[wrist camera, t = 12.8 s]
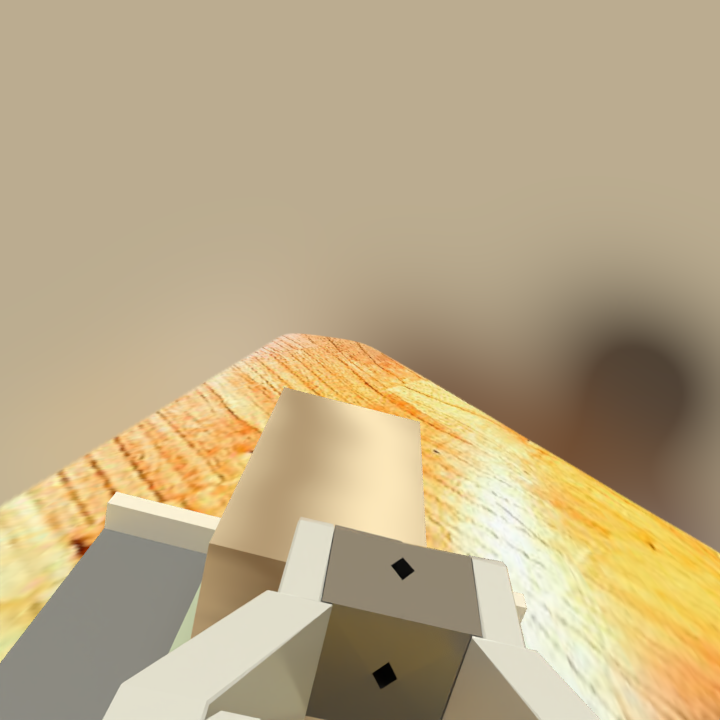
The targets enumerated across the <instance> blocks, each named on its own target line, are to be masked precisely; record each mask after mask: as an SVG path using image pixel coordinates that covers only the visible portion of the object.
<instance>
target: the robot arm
mask: <svg viewBox="0 0 720 720" xmlns="http://www.w3.org/2000/svg"><path fill="white" fill-rule="evenodd" d="M305 716H309V717H314V718H319V719H324V720H600V718H599V717H598V716H597V715H596V714H595V713H594V712H593V711H592V710H591V709H590V708H589V707H588V706H587V704H586V703H585V702H584V701H583V700H582V699H581V698H580V697H579V696H578V695H577V694H576V693H575V692H574V690H573V689H572V688H571V687H570V686H569V685H568V684H567V683H566V682H565V681H564V680H563V679H562V678H561V677H560V675H559V674H558V673H557V672H556V671H555V670H554V669H553V668H552V667H551V666H550V665H549V664H548V663H547V661H546V660H545V659H544V658H543V657H542V656H541V655H540V654H539V653H538V652H537V651H536V650H531V649H527V648H526V647H525V642H524V638H523V634H522V629H521V625H520V621H519V617H518V612H517V608H516V604H515V600H514V595H513V591H512V587H511V583H510V578H509V574H508V570H507V566H506V565H505V564H504V563H503V562H501V561H496V560H490V559H485V558H480V557H475V556H470V555H469V556H465V555H461V554H456V553H451V552H446V551H442V550H437V549H432V548H428V547H423V546H418V545H414V544H409V543H404V542H402V541H399V540H395V539H391V538H387V537H383V536H379V535H375V534H371V533H367V532H363V531H359V530H355V529H351V528H347V527H343V526H339V525H335V528H334V525H333V524H331V523H327V522H322V521H318V520H313V519H309V518H304V517H300V519H299V521H298V523H297V526H296V530H295V533H294V537H293V540H292V544H291V547H290V551H289V554H288V558H287V561H286V565H285V568H284V572H283V575H282V579H281V582H280V586H279V589H278V592H275V591H270V590H266V591H265V592H263V593H262V594H260V595H259V596H257V597H256V598H254V599H252V600H251V601H249V602H248V603H246V604H245V605H243V606H242V607H240V608H238V609H237V610H235V611H234V612H232V613H231V614H229V615H228V616H226V617H224V618H223V619H221V620H220V621H218V622H217V623H215V624H214V625H212V626H210V627H209V628H207V629H206V630H204V631H203V632H201V633H200V634H198V635H196V636H195V637H193V638H192V639H190V640H189V641H187V642H186V643H184V644H182V645H181V646H179V647H178V648H176V649H175V650H173V651H172V652H170V653H168V654H167V655H165V656H164V657H162V658H161V659H159V660H158V661H156V662H154V663H153V664H151V665H150V666H148V667H147V668H145V669H144V670H142V671H140V672H139V673H137V674H136V675H134V676H133V677H131V678H130V679H128V680H126V681H125V682H123V683H122V684H121V685H120V687H119V689H118V691H117V693H116V695H115V697H114V699H113V700H112V702H111V704H110V706H109V708H108V710H107V712H106V714H105V716H104V717H103V719H102V720H304V719H305Z"/></svg>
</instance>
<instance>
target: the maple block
mask: <svg viewBox="0 0 720 720" xmlns="http://www.w3.org/2000/svg"><path fill="white" fill-rule="evenodd" d="M300 517H304V518H309V519H313V520H318V521H322V522H327V523H331V524H333V525H334V528H335V525H339V526H343V527H347V528H351V529H355V530H359V531H363V532H367V533H371V534H375V535H379V536H383V537H387V538H391V539H395V540H399V541H402V542H404V543H409V544H414V545H418V546H423V547H427V546H426V528H425V510H424V491H423V473H422V455H421V437H420V422H418V421H414V420H410V419H406V418H403V417H399V416H395V415H391V414H387V413H383V412H379V411H375V410H371V409H367V408H363V407H359V406H355V405H352V404H348V403H344V402H340V401H336V400H332V399H328V398H324V397H320V396H316V395H312V394H308V393H304V392H301V391H297V390H293V389H289V388H285V387H284V389H283V391H282V393H281V395H280V397H279V399H278V402H277V404H276V406H275V408H274V410H273V412H272V414H271V416H270V418H269V420H268V422H267V424H266V426H265V428H264V431H263V433H262V435H261V437H260V439H259V441H258V443H257V445H256V447H255V449H254V451H253V453H252V455H251V457H250V460H249V462H248V464H247V466H246V468H245V470H244V472H243V474H242V476H241V478H240V480H239V482H238V484H237V486H236V489H235V491H234V493H233V495H232V497H231V499H230V501H229V503H228V505H227V507H226V509H225V511H224V513H223V515H222V518H221V520H220V522H219V524H218V526H217V528H216V530H215V532H214V534H213V536H212V538H211V540H210V542H209V547H208V552H207V557H206V562H205V567H204V572H203V577H202V582H201V588H200V593H199V598H198V603H197V608H196V613H195V618H194V623H193V628H192V633H191V639H192V638H193V637H195V636H196V635H198V634H200V633H201V632H203V631H204V630H206V629H207V628H209V627H210V626H212V625H214V624H215V623H217V622H218V621H220V620H221V619H223V618H224V617H226V616H228V615H229V614H231V613H232V612H234V611H235V610H237V609H238V608H240V607H242V606H243V605H245V604H246V603H248V602H249V601H251V600H252V599H254V598H256V597H257V596H259V595H260V594H262V593H263V592H265V591H266V590H270V591H275V592H278V589H279V586H280V582H281V579H282V575H283V572H284V568H285V565H286V561H287V558H288V554H289V551H290V547H291V544H292V540H293V537H294V533H295V530H296V526H297V523H298V521H299V519H300ZM304 720H324V719H319V718H314V717H309V716H305V719H304Z"/></svg>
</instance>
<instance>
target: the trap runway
mask: <svg viewBox="0 0 720 720" xmlns="http://www.w3.org/2000/svg"><path fill="white" fill-rule="evenodd" d="M220 520H221V518H218V517H214V516H210V515H206V514H202V513H198V512H194V511H190V510H187V509H183V508H179V507H175V506H171V505H167V504H163V503H159V502H155V501H151V500H147V499H143V498H139V497H135V496H131V495H127V494H123V493H119V492H116V493H115V494H114V496H113V497H112V498H111V499H110V501H109V502H108V504H107V512H106V520H105V528H104V530H103V531H102V532H101V533H100V535H99V536H98V537H97V539H96V540H95V541H94V542H93V544H92V545H91V546H90V548H89V549H88V550H87V552H86V553H85V554H84V555H83V557H82V558H81V559H80V561H79V562H78V563H77V564H76V566H75V567H74V568H73V570H72V571H71V572H70V574H69V575H68V576H67V577H66V579H65V580H64V581H63V583H62V584H61V585H60V586H59V588H58V589H57V590H56V592H55V593H54V594H53V595H52V597H51V598H50V599H49V601H48V602H47V603H46V605H45V606H44V607H43V608H42V610H41V611H40V612H39V614H38V615H37V616H36V617H35V619H34V620H33V621H32V623H31V624H30V625H29V626H28V628H27V629H26V630H25V632H24V633H23V634H22V636H21V637H20V638H19V639H18V641H17V642H16V643H15V645H14V646H13V647H12V648H11V650H10V651H9V652H8V654H7V655H6V656H5V658H4V659H3V660H2V661H1V663H0V720H102V719H103V717H104V716H105V714H106V712H107V710H108V708H109V706H110V704H111V702H112V700H113V699H114V697H115V695H116V693H117V691H118V689H119V687H120V685H121V684H122V683H123V682H125V681H126V680H128V679H130V678H131V677H133V676H134V675H136V674H137V673H139V672H140V671H142V670H144V669H145V668H147V667H148V666H150V665H151V664H153V663H154V662H156V661H158V660H159V659H161V658H162V657H164V656H165V655H167V654H168V653H170V652H172V651H173V650H175V649H176V648H178V647H179V646H181V645H182V644H184V643H186V642H187V641H189V640H190V639H191V633H192V628H193V623H194V618H195V613H196V608H197V603H198V598H199V593H200V588H201V582H202V577H203V572H204V567H205V562H206V557H207V552H208V547H209V542H210V540H211V538H212V536H213V534H214V532H215V530H216V528H217V526H218V524H219V522H220ZM513 595H514V600H515V604H516V608H517V612H518V617H519V621H520V623H521V621H522V619H523V616H524V614H525V612H526V609H527V606H526V603H525V599H524V595H523V594H521V593H517V592H513Z"/></svg>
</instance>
